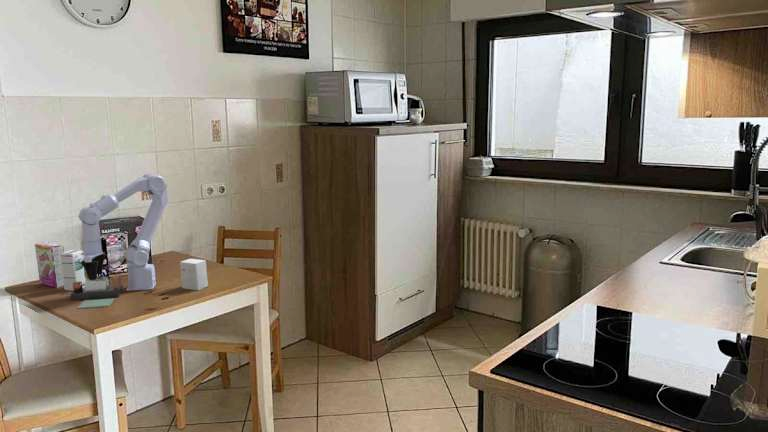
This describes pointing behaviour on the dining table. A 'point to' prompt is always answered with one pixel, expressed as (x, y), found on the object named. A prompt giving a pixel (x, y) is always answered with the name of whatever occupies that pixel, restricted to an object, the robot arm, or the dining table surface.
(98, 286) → the lever cap
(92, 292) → the plane body
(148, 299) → the dining table surface
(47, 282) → the candy bar box
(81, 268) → the syrup box
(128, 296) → the dining table surface
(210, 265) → the dining table surface
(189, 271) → the small box
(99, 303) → the rubber mat
